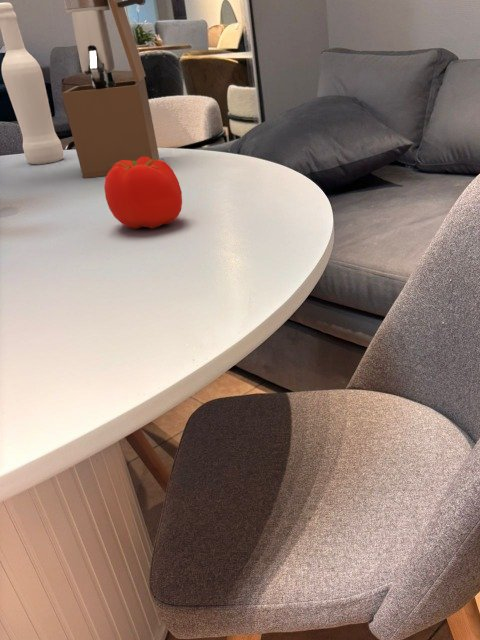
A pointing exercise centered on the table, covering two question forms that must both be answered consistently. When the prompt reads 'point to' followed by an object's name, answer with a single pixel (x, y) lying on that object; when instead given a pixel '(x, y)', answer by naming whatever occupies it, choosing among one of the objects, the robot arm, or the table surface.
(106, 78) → the robot arm
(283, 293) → the table surface
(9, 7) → the bottle
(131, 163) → the tomato
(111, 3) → the case lid
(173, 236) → the table surface
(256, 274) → the table surface
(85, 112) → the case
